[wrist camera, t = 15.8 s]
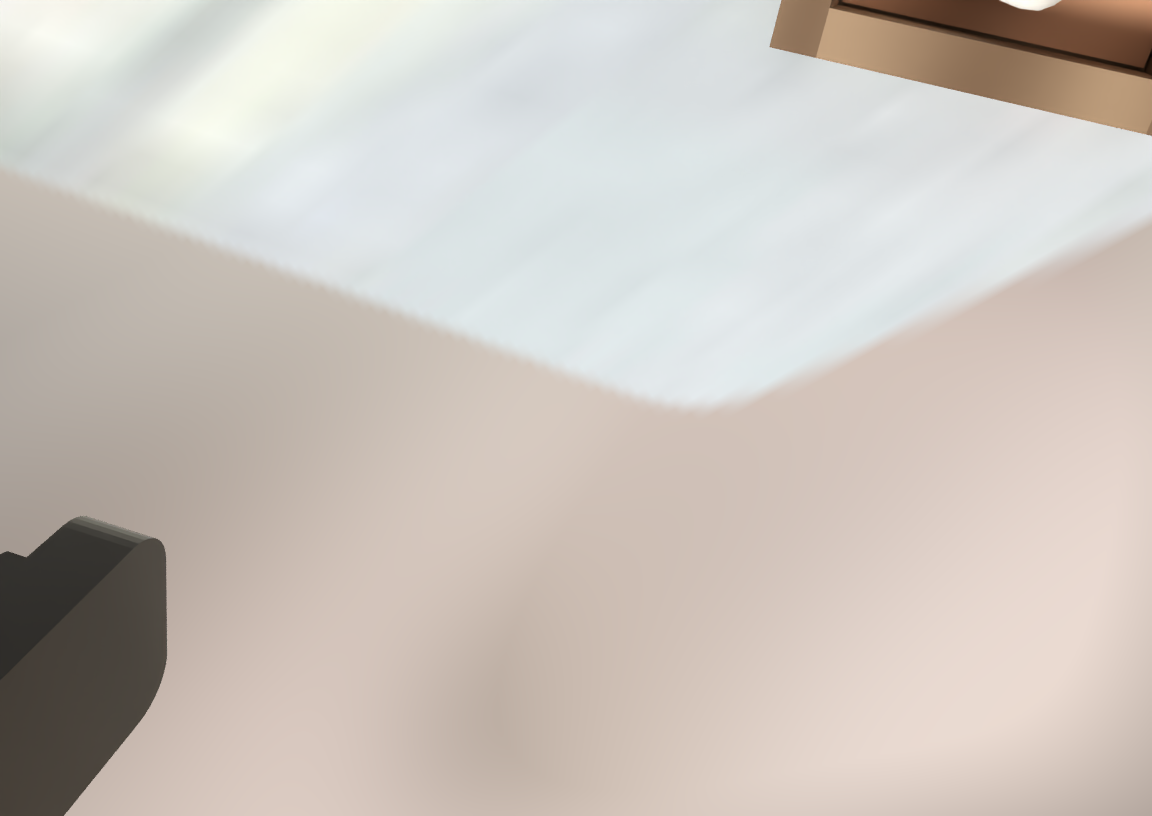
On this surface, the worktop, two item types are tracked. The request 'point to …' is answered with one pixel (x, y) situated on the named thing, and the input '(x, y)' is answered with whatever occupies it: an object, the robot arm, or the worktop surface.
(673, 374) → the worktop surface
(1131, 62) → the walnut rack
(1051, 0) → the eye dropper bottle
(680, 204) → the worktop surface
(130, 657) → the robot arm
